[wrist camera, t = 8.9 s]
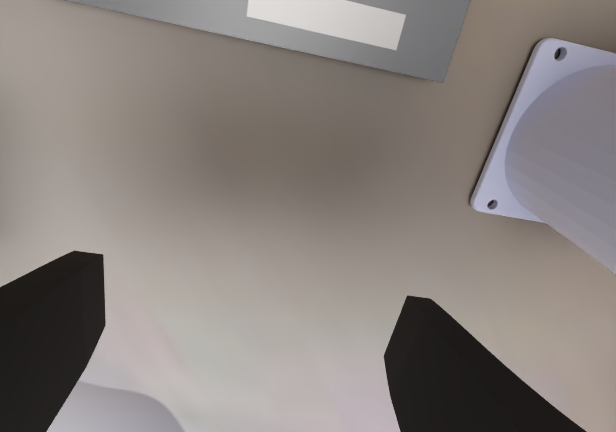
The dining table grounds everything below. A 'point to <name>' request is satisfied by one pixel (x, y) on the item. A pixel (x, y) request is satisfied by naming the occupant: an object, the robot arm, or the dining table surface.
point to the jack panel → (326, 27)
